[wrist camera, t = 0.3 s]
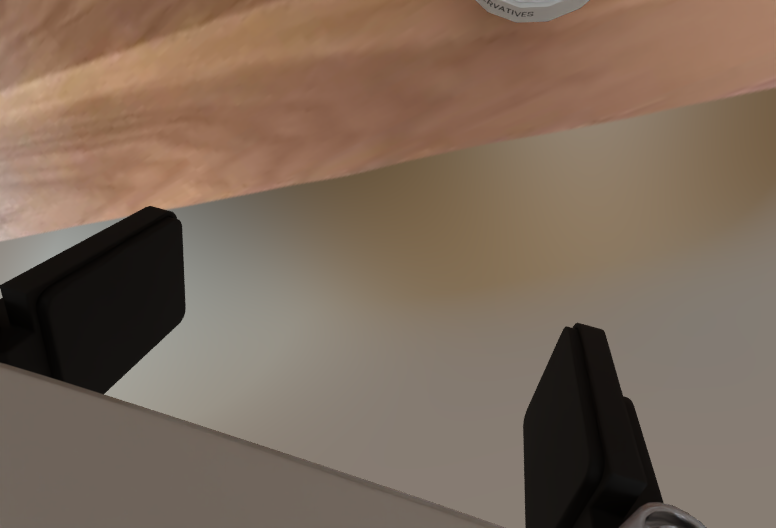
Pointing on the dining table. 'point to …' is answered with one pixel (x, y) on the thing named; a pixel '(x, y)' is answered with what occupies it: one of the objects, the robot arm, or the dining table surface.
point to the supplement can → (531, 9)
